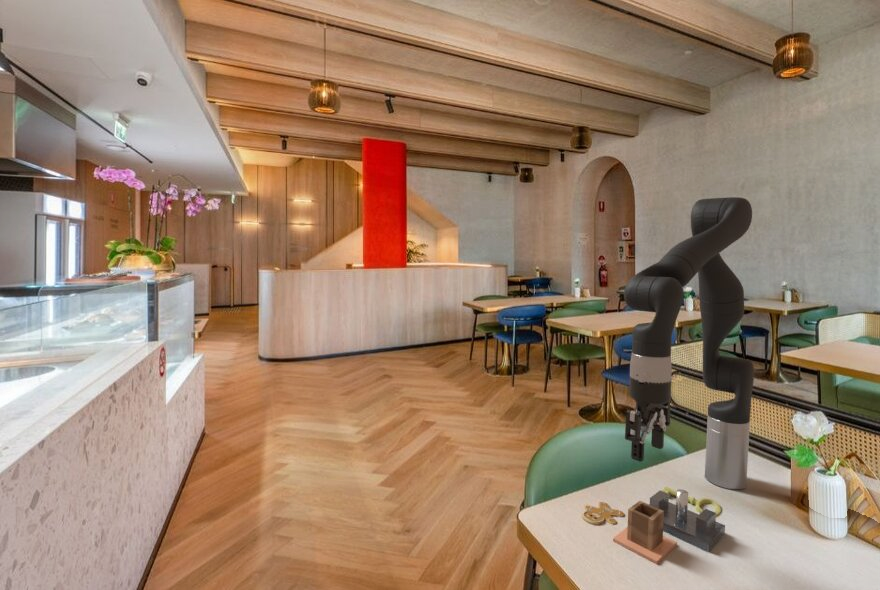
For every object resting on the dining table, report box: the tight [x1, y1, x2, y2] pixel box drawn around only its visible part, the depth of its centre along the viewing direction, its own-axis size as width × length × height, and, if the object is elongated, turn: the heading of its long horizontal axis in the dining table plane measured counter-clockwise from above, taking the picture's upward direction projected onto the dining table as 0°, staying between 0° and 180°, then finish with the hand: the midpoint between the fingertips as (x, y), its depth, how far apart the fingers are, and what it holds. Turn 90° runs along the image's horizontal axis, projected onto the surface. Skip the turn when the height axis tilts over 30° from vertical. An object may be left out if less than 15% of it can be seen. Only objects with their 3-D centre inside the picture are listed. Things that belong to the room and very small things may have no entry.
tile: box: [612, 526, 678, 565], centre depth 89 cm, size 9×9×1 cm
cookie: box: [581, 501, 626, 526], centre depth 99 cm, size 8×1×10 cm
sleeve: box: [627, 500, 664, 551], centre depth 89 cm, size 5×5×6 cm
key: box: [662, 486, 722, 517], centre depth 103 cm, size 7×12×2 cm, turn 63°
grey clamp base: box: [649, 488, 726, 553], centre depth 94 cm, size 9×14×8 cm, turn 39°
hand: (647, 453), depth 88 cm, fingers open, 8 cm apart
